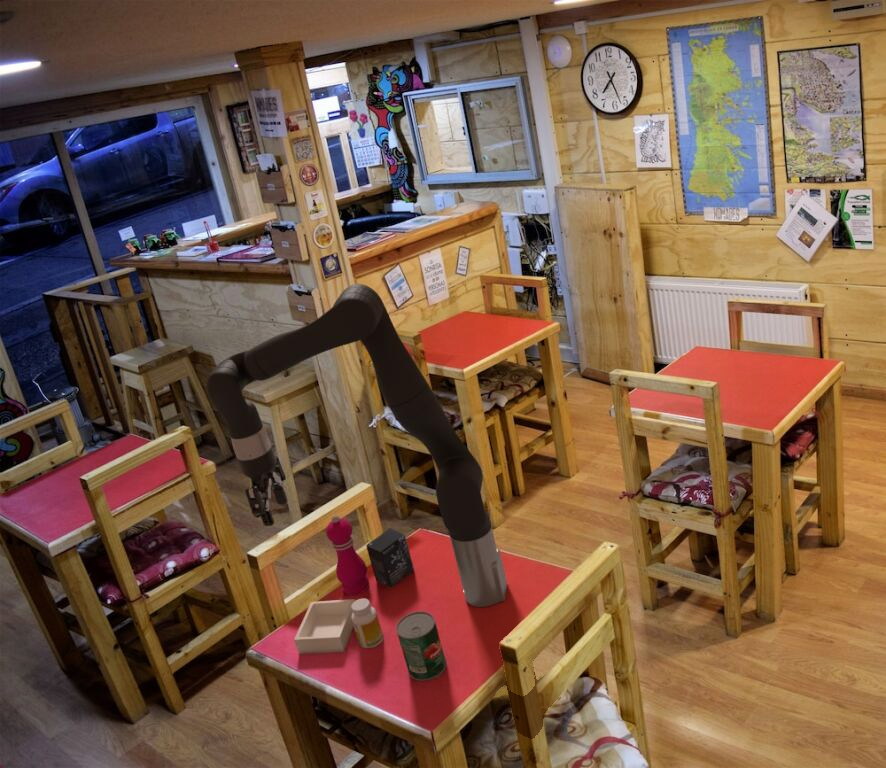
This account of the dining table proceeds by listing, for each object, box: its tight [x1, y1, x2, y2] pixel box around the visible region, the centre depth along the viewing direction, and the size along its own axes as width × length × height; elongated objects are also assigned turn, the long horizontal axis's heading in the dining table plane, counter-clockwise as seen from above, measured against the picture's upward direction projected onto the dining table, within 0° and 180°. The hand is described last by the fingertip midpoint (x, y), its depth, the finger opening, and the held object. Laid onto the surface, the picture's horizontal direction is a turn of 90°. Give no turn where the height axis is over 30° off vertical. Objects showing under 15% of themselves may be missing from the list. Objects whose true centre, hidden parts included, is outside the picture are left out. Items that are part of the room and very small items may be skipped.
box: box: [365, 528, 415, 589], centre depth 207 cm, size 8×6×11 cm
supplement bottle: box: [351, 597, 384, 649], centre depth 188 cm, size 5×5×10 cm
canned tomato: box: [395, 610, 447, 682], centre depth 176 cm, size 8×8×11 cm
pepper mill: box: [325, 514, 370, 596], centre depth 205 cm, size 7×7×20 cm
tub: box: [293, 598, 356, 655], centre depth 194 cm, size 10×12×4 cm
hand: (276, 513), depth 193 cm, fingers open, 8 cm apart
